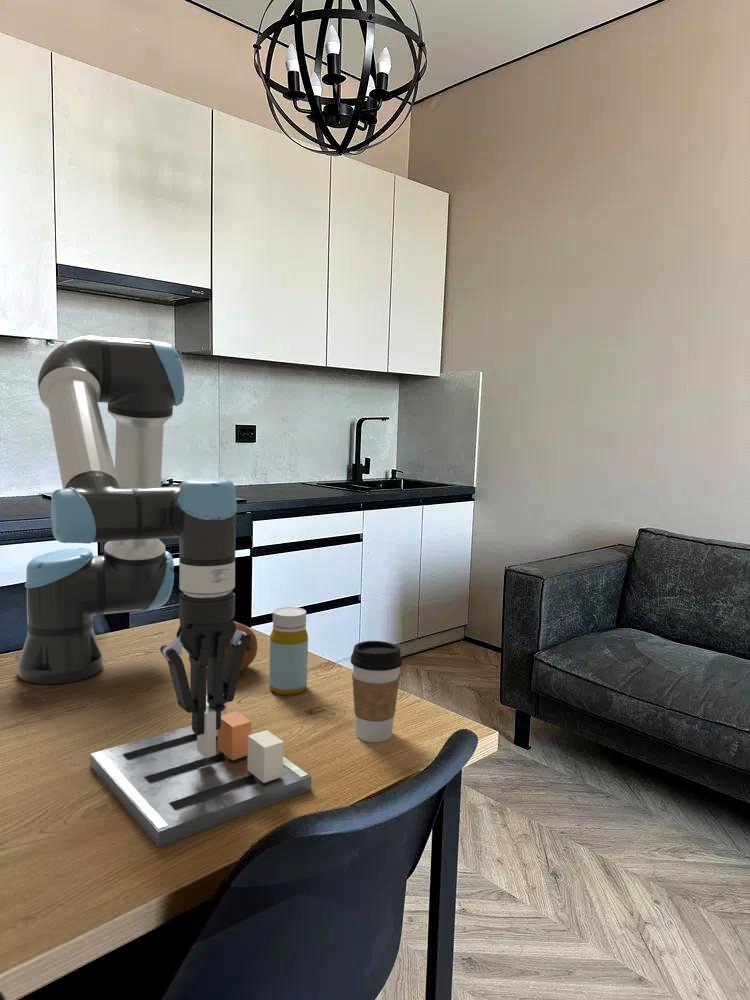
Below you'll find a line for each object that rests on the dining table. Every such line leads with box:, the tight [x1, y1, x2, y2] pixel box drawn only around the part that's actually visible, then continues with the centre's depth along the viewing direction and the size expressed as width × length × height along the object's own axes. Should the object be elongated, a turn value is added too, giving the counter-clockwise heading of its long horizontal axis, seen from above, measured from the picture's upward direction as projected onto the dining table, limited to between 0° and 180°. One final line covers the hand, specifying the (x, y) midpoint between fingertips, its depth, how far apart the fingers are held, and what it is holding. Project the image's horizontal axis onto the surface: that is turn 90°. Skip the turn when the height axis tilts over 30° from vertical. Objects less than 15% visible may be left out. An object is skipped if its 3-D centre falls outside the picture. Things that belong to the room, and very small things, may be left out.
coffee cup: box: [350, 640, 403, 743], centre depth 115 cm, size 8×8×15 cm
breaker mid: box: [218, 710, 252, 760], centre depth 104 cm, size 4×3×6 cm
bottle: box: [268, 606, 309, 696], centre depth 133 cm, size 7×7×15 cm
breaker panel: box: [89, 725, 312, 848], centre depth 100 cm, size 24×22×2 cm
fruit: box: [223, 622, 258, 672], centre depth 141 cm, size 12×12×10 cm
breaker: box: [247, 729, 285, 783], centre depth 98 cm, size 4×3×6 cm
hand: (206, 752), depth 101 cm, fingers closed
